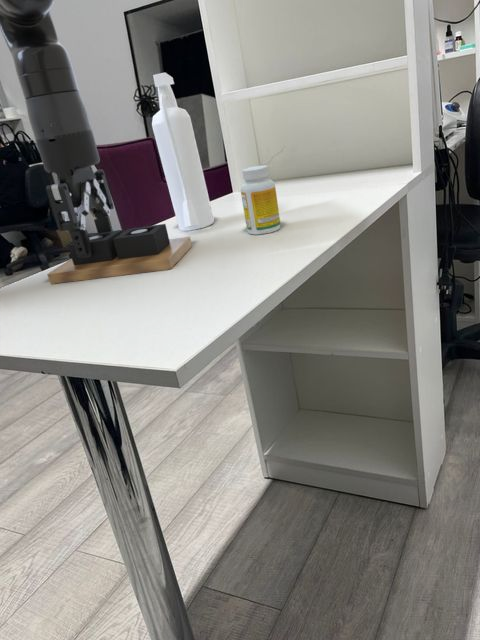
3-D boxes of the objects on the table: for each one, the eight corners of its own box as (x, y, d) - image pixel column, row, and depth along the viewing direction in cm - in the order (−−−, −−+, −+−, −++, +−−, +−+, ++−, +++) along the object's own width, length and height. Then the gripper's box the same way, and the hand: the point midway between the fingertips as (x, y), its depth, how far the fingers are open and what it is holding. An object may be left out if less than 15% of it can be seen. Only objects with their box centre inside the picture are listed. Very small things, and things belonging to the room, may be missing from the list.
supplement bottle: (241, 235, 85) (229, 172, 81) (260, 226, 89) (250, 165, 85) (268, 235, 82) (258, 170, 78) (287, 225, 86) (278, 163, 82)
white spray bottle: (170, 238, 92) (131, 75, 82) (182, 223, 103) (149, 78, 92) (208, 232, 91) (175, 67, 81) (216, 217, 102) (188, 70, 92)
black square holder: (118, 259, 77) (112, 239, 76) (132, 248, 82) (127, 228, 81) (158, 254, 76) (153, 233, 75) (170, 243, 81) (165, 223, 80)
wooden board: (50, 284, 77) (40, 253, 75) (85, 259, 87) (77, 232, 85) (171, 269, 73) (163, 236, 71) (192, 245, 84) (185, 217, 82)
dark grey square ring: (73, 265, 78) (67, 245, 77) (90, 253, 84) (84, 234, 82) (112, 260, 77) (106, 239, 76) (126, 249, 82) (121, 229, 81)
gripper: (61, 132, 80) (93, 240, 87) (9, 141, 67) (51, 266, 74) (108, 124, 79) (137, 234, 86) (64, 131, 66) (102, 260, 73)
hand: (97, 249), depth 80 cm, fingers open, 8 cm apart
